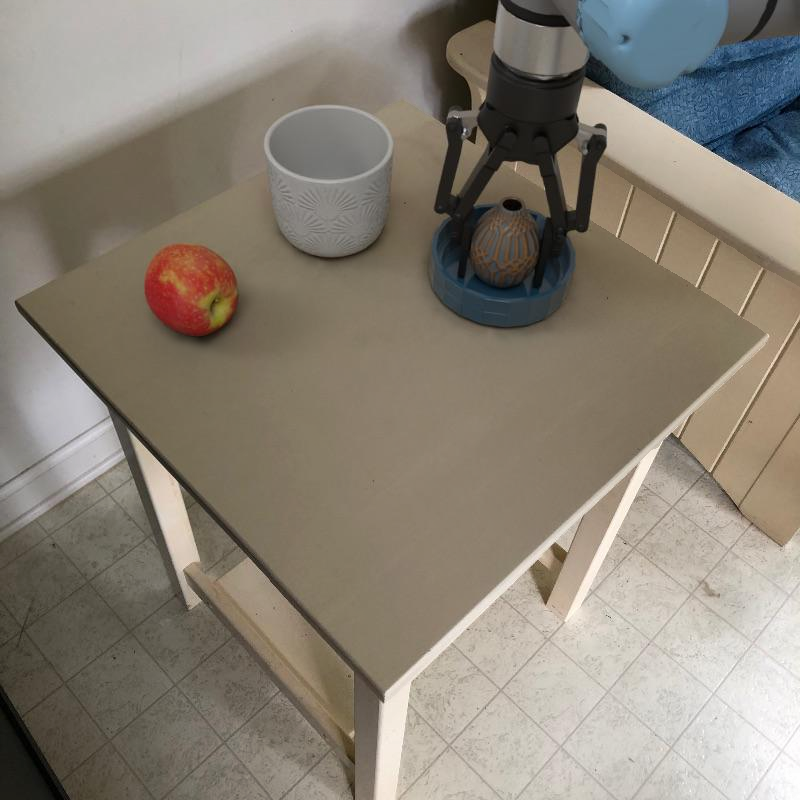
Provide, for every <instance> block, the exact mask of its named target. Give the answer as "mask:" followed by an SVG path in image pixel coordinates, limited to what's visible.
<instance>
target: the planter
mask: <svg viewBox="0 0 800 800" xmlns="http://www.w3.org/2000/svg"><path fill="white" fill-rule="evenodd" d="M263 151H264V156H265V165H266V172H267V178H268V179H267V180H268V186H269V192H270V197H271V202H272V209H273V212H274V216H275V219H276V223H277V226H278V227H279V229H280V232H281V233H282V235H283V237H285V239H286V240H287V242H289V243H290V244H291V245H293V247H295V248H297V249H298V250H300V251H302V252H304V253H305V254H310V255H312V256H316V257H323V258H340V257H346V256H350V255H354V254H357V253H359V252H361V251H364V250H365V249H366V248H368V247H369V246H371V245H372V244H373V243H374V242H375V241H376V240H377V239H378V237H379V236H380V234H381V233H382V231H383V229H384V226H385V224H386V220H387V217H388V211H389V206H390V199H391V198H390V197H391V189H392V177H393V164H394V151H395V141H394V137H393V134H392V132H391V130H390V128H388V126H387V125H386V124H385V123H384V122H383V121H382V120H381V119H379V118H378V117H376V116H375V115H373V114H371V113H369V112H368V111H365V110H363V109H359V108H356V107H352V106H348V105H340V104H316V105H309V106H305V107H302V108H297V109H295V110H292V111H290V112H288V113H285V114H283V115H282V116H280V117H279V118H278V119H277V120H276V121H274V122H273V123H272V124H271V125H270V126H269V128H268V130H267V131H266V133H265V136H264V139H263Z"/></svg>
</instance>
